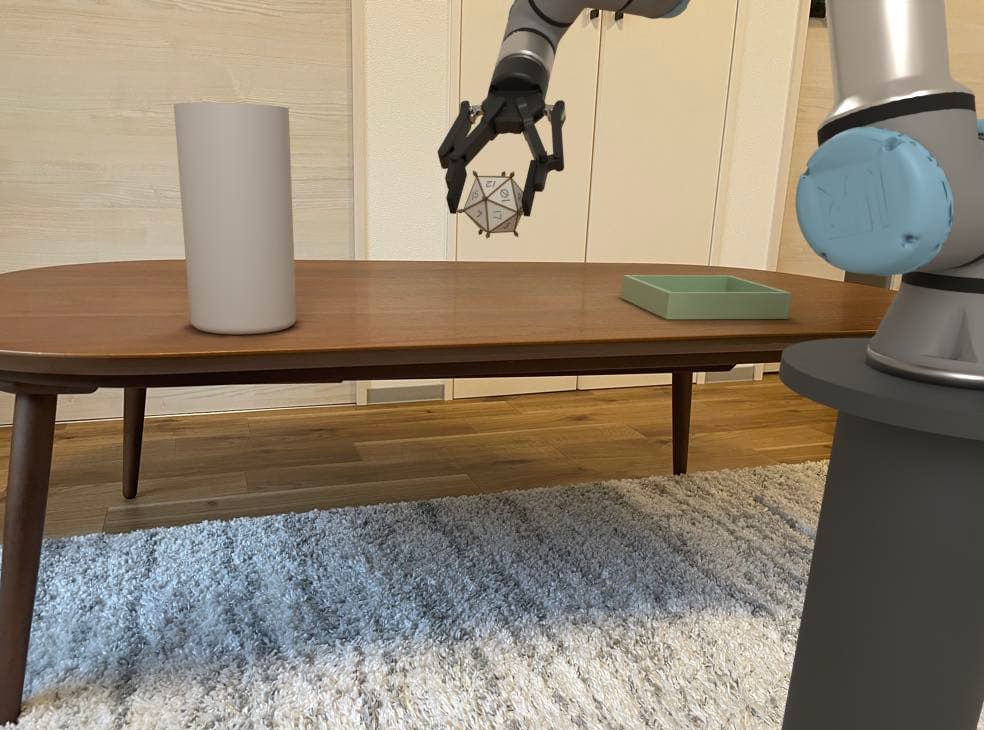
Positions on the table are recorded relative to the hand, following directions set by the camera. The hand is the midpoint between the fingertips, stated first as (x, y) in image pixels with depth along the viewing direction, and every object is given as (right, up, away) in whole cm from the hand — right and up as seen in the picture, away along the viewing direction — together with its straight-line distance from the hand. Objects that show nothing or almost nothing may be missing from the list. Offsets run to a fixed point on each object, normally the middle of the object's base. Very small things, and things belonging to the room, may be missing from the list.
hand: (487, 207), depth 93 cm
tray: (+32, -9, +21) cm, 40 cm away
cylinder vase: (-30, -14, +2) cm, 33 cm away
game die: (+1, -3, +4) cm, 5 cm away
